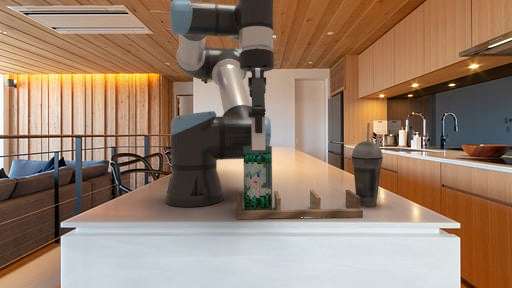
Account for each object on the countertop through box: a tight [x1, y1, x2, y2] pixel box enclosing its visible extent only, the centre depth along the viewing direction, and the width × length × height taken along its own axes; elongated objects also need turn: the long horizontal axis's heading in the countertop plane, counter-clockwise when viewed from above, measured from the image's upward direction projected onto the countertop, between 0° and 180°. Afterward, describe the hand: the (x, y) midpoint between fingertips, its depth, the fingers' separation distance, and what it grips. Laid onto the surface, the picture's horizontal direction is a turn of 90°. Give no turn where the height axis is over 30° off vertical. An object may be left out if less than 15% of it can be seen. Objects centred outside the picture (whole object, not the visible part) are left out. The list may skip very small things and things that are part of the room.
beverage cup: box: [351, 122, 384, 208], centre depth 74 cm, size 7×7×20 cm
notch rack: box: [236, 189, 364, 220], centre depth 68 cm, size 27×9×4 cm, turn 91°
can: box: [243, 145, 273, 210], centre depth 69 cm, size 6×6×15 cm
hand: (257, 147), depth 68 cm, fingers open, 13 cm apart
